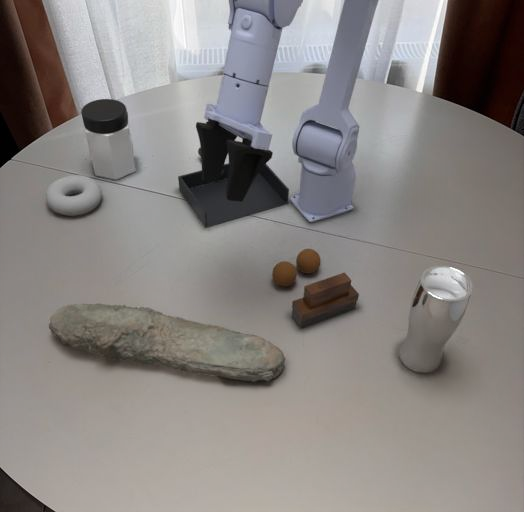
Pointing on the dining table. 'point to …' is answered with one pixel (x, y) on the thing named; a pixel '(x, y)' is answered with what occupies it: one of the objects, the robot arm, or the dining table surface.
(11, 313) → the dining table surface
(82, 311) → the elongated rock
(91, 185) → the donut
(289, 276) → the cork ball
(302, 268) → the cork ball
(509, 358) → the dining table surface
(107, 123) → the jar
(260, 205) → the dustpan
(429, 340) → the beer glass
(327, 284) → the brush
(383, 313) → the dining table surface
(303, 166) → the robot arm
